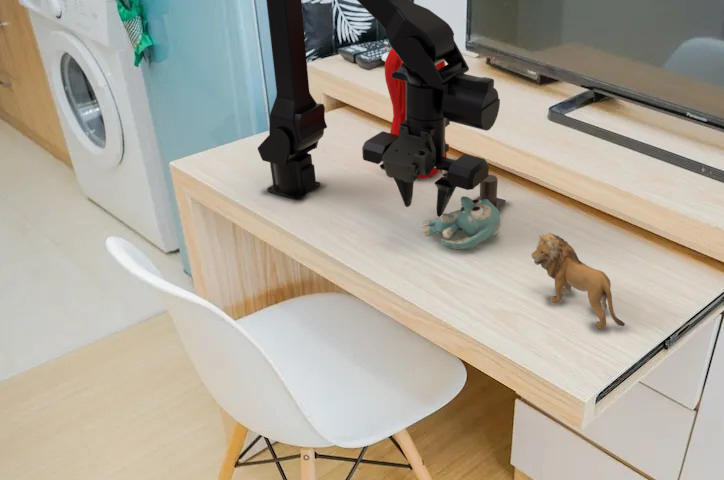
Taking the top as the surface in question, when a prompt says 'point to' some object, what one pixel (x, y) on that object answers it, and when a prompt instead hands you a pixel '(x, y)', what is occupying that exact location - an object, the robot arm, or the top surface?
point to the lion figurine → (574, 275)
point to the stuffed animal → (466, 224)
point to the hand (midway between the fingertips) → (424, 210)
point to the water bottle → (400, 96)
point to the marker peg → (491, 192)
